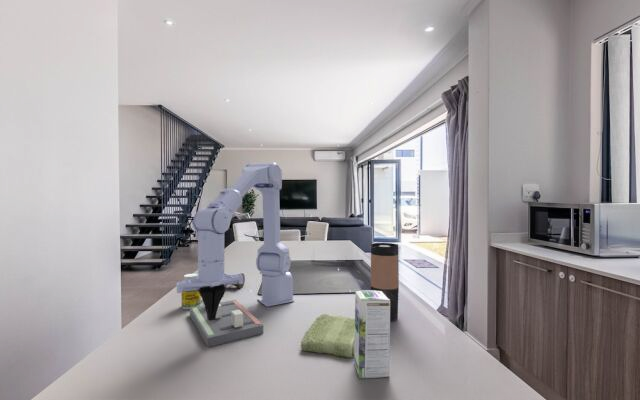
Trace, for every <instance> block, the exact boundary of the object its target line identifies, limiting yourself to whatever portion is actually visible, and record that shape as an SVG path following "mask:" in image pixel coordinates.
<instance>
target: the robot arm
mask: <svg viewBox="0 0 640 400" xmlns="http://www.w3.org/2000/svg"><path fill="white" fill-rule="evenodd" d="M241 172H242V173H241V175H240V177H239V178H238V179H237V181H235V183H234V184H233V186H232V187H230V188H229V187H227V188H222V189H221V190H220V191H219V194H218V195H217V196H216V197H215V198H214V199H213V200H212V201H210V202H209V204H208V205H207V207H202V208H200V209H199V210H197V211H196V212H195V214H194V216H193V220H191V225H192V228H193V230H194V231H195V238H196V240H197V243H198V244H197V245H198V246H197V253H198V254H197V260H198V261H197V262H198V263H197V271H198V272H197V274H198V278H197V279H192V280H188V281H184V280H183V281H178V282H176V287H175V289H176V293H177V294H182V293H183V292H184V291H191V290H198V291H199V293H200V295H201V300H202V302H203V305H205V308H206V313H207V318H208V320H209V321H211V320H215V318H216V313H217V309H218V306H219V303H220V302H222V298H223V297H224V295H225V293H226V290H225V288H224V286H225V285H227V286H233V285H232V284H243V275H241V273H238V274H226V275H224V273H225V233H226V232H227V231H228V230H229V229H230V225H231V221H232V219H233V215H234V214H235V213H236V212H237V210H238V209H239V208H240V207H241V206H242V204H243V197H244V196H245V195H246V194H247V193H248V192H249V191H250V190H251V189H252V188H254V189H255V190H258V191H259V193H261V195H262V215H263V216H262V218H263V219H262V221H263V244H262V245H260V247H259V248H258V249H257V256H256V260H255V267H256V269H257V270H258V271H259V274H260V275H261V297H257V299H256V300H257V301H258V302H260V303H261V304H263V306H265V308H266V307H274V306H278V305H283V304H287V303H292V302H295V299H294V278H293V275H292V273H291V272H290V268H291V264H292V263H291V260H292V259H291V256H290V251H289V249H290V248H288V247H287V246H286V245H284V243H282V242H281V218H280V217H281V215H280V212H281V209H280V205H281V204H280V191H281V190H282V188H283V186H282V185H283V184H282V183H283V179H282V178H283V176H282V175H283V173H282V169H281V167H280V165H279V164H278V163H277V162H266V163H264V162H263V163H246V164H245V166H244V167H243V168H242V171H241Z"/></svg>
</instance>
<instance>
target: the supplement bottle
mask: <svg viewBox="0 0 640 400" xmlns="http://www.w3.org/2000/svg"><path fill="white" fill-rule="evenodd" d="M197 278H198V273H187V274H184V275H183V281H188V280H192V279H197ZM201 300H202V297H201V295H200V293H199V291H198V290H191V291H184V292H183V293H181V308H182V309H183V310H190V308H192V307H198V306H202V305H201V304H202V303H201V302H202V301H201Z"/></svg>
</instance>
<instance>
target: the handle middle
mask: <svg viewBox="0 0 640 400" xmlns="http://www.w3.org/2000/svg"><path fill="white" fill-rule="evenodd" d="M221 317H222V306H221V304H220V303H219V306H218V309H217V313H216V318H221ZM216 318H215V319H216Z"/></svg>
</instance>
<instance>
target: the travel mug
mask: <svg viewBox="0 0 640 400" xmlns="http://www.w3.org/2000/svg"><path fill="white" fill-rule="evenodd" d="M399 266H400V265H399V245H398V244H396V243H391V242H375V243H373V242H372V243H371V245H370V290H375V291H382V292H383V293H384V294H385V295H386V296H387V298H388V299H390V322H394V321H397V319H398V314H399V292H400V291H399V284H400V283H399V280H400V278H399V277H400V276H399V275H400V273H399V272H400V271H399V270H400V269H399Z"/></svg>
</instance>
